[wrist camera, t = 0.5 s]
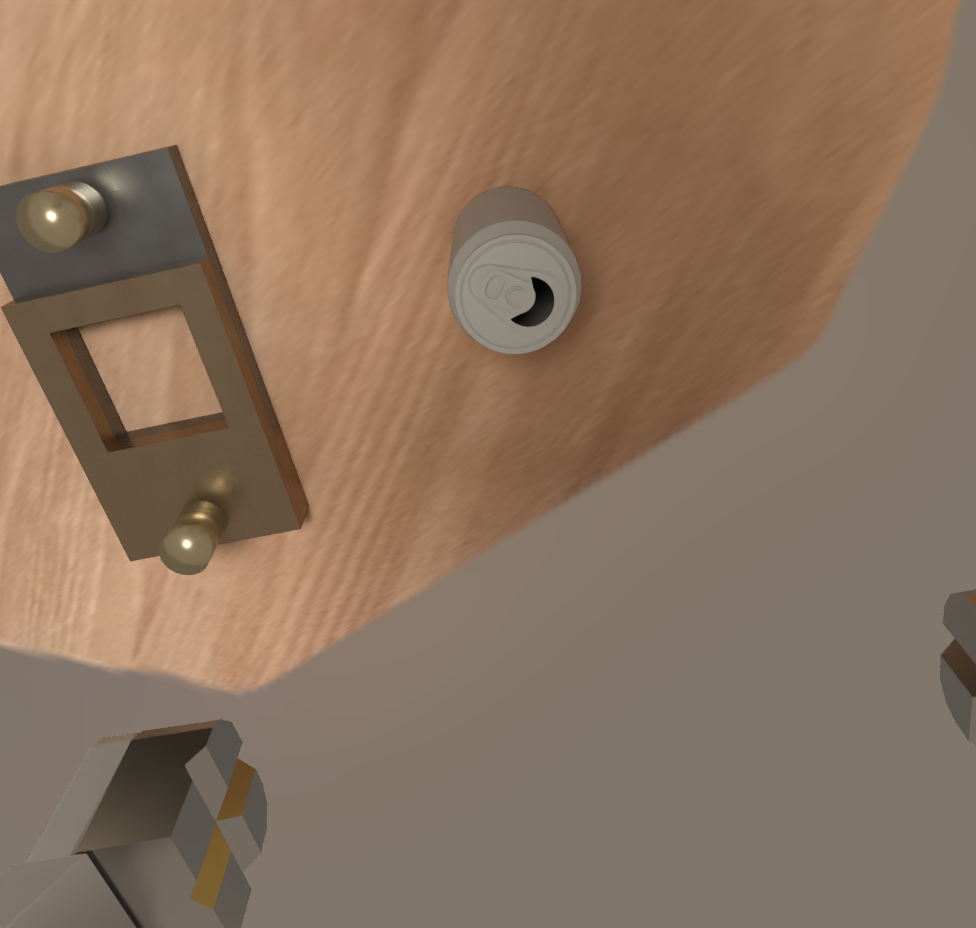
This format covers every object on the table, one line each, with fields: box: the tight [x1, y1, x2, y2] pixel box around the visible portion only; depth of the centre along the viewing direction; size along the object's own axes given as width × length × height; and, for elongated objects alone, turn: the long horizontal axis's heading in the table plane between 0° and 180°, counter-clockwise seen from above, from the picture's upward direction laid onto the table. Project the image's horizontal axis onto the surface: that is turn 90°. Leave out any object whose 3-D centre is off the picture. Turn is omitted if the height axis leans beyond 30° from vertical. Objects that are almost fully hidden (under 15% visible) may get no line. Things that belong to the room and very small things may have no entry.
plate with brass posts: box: [0, 145, 309, 575], centre depth 47 cm, size 24×12×7 cm, turn 12°
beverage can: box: [448, 187, 581, 354], centre depth 42 cm, size 6×6×12 cm
